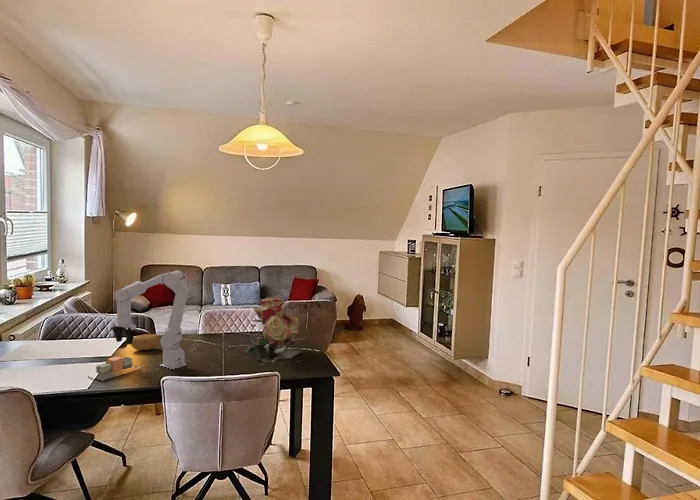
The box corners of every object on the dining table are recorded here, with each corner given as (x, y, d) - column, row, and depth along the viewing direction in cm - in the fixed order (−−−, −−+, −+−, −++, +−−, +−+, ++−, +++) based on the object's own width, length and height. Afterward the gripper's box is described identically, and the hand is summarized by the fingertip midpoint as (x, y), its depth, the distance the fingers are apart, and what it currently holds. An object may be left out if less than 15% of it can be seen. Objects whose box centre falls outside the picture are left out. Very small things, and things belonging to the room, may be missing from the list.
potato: (130, 348, 231) (130, 333, 231) (160, 346, 236) (160, 331, 236) (128, 354, 222) (128, 338, 222) (159, 352, 227) (159, 336, 227)
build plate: (140, 369, 202) (140, 358, 201) (101, 381, 186) (101, 370, 185) (126, 365, 206) (126, 354, 206) (87, 377, 191) (87, 365, 190)
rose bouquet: (267, 366, 210) (268, 303, 208) (239, 350, 233) (239, 294, 230) (312, 356, 227) (313, 298, 225) (281, 342, 249) (282, 289, 247)
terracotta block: (123, 370, 197) (123, 358, 197) (113, 373, 193) (113, 360, 193) (116, 368, 199) (116, 356, 199) (107, 371, 195) (107, 358, 195)
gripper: (106, 313, 207) (106, 342, 208) (125, 317, 200) (126, 347, 201) (120, 310, 213) (120, 338, 214) (139, 314, 206) (140, 343, 207)
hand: (124, 342), depth 208 cm, fingers open, 7 cm apart
